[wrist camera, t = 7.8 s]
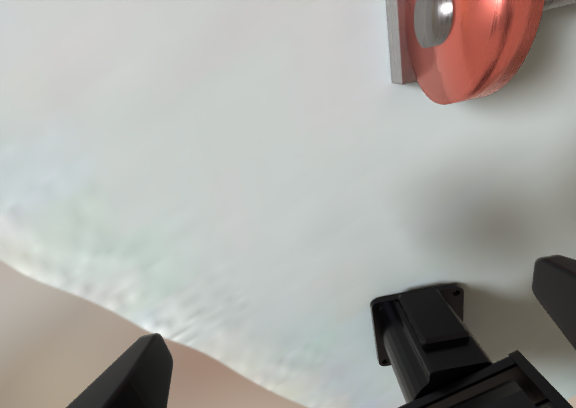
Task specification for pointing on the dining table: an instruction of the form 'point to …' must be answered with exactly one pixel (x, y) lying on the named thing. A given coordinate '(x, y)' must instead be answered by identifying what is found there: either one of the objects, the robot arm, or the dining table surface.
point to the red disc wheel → (461, 43)
